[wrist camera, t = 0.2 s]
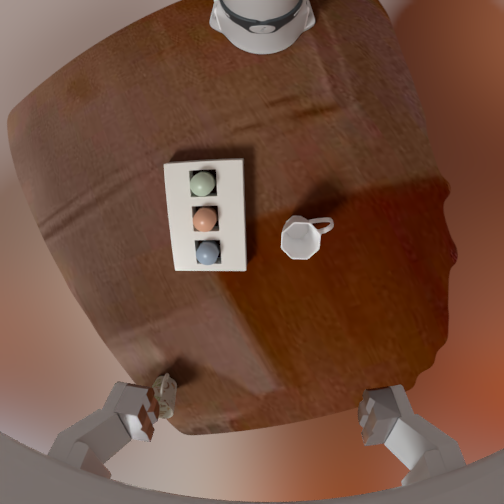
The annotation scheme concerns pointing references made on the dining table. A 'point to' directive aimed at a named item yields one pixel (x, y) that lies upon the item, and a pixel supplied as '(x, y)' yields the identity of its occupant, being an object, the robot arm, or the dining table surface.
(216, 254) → the slate button
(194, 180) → the sage button
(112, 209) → the dining table surface
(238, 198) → the button panel
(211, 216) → the terracotta button
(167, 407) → the mug
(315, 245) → the cup
